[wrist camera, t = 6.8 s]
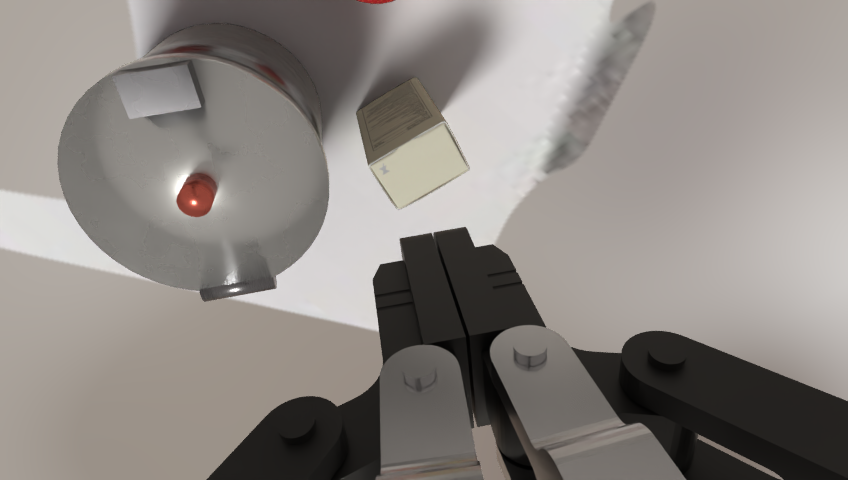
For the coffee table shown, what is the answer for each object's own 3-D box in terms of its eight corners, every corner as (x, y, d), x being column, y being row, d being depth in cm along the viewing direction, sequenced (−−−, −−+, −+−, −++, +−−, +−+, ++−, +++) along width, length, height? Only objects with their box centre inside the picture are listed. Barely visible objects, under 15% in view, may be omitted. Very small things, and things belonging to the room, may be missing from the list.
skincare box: (379, 151, 50) (394, 215, 40) (354, 111, 48) (362, 167, 38) (442, 115, 50) (473, 171, 39) (419, 72, 47) (445, 120, 37)
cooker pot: (98, 36, 42) (26, 78, 32) (301, 6, 43) (294, 37, 33) (170, 213, 50) (132, 291, 40) (340, 184, 51) (344, 252, 41)
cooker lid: (16, 75, 32) (-15, 92, 29) (298, 32, 33) (295, 44, 30) (132, 306, 40) (117, 337, 38) (351, 266, 42) (353, 293, 39)
